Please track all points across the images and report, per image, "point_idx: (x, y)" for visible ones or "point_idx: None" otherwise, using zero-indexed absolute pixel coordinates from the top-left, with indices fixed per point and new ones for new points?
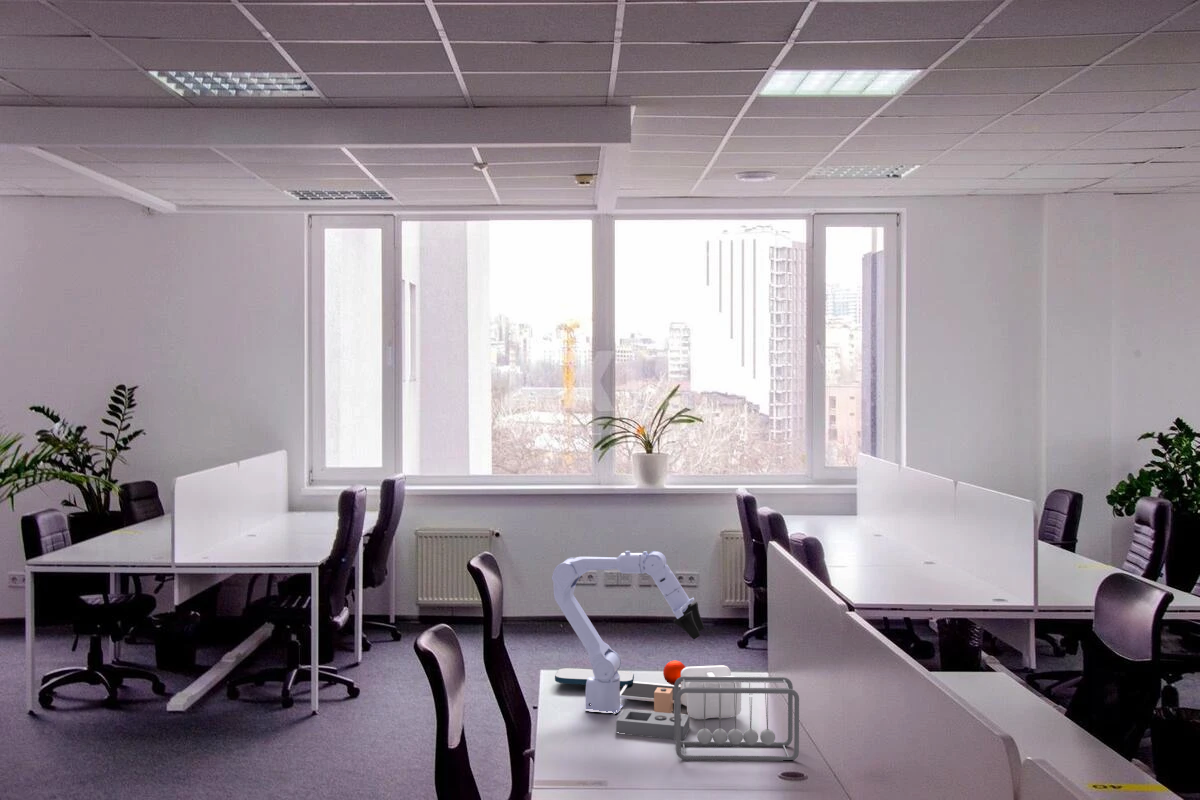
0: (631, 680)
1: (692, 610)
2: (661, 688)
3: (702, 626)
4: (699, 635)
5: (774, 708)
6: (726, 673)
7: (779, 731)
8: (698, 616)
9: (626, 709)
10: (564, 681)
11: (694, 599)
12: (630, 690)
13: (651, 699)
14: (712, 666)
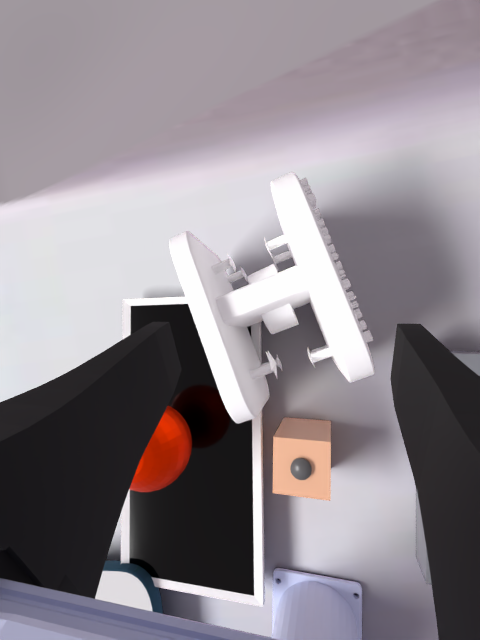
0: (134, 573)
1: (52, 485)
2: (281, 477)
3: (160, 336)
4: (423, 327)
5: (193, 148)
6: (198, 246)
7: (375, 95)
8: (101, 386)
9: (428, 575)
10: None
11: (33, 621)
12: (200, 566)
13: (261, 493)
14: (197, 297)
